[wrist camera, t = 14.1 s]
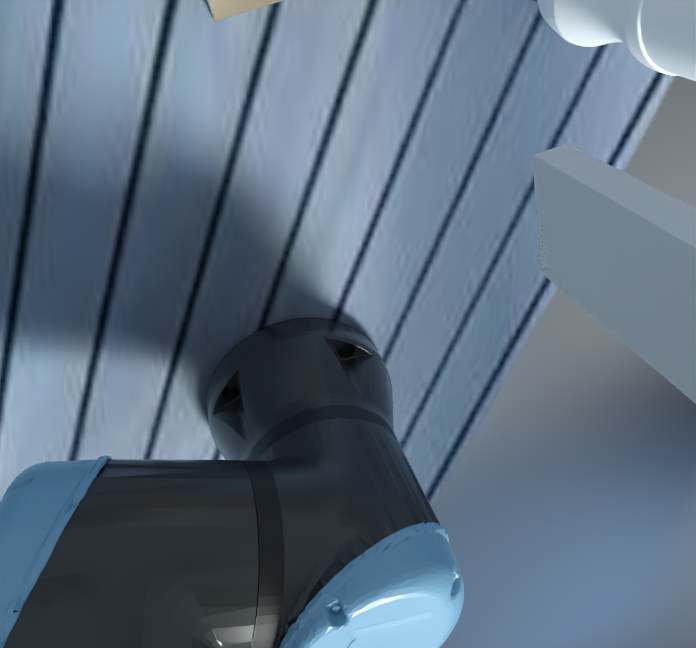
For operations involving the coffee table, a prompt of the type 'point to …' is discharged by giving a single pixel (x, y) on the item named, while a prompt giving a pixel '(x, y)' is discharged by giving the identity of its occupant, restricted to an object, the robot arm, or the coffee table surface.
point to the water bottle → (631, 29)
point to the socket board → (235, 7)
